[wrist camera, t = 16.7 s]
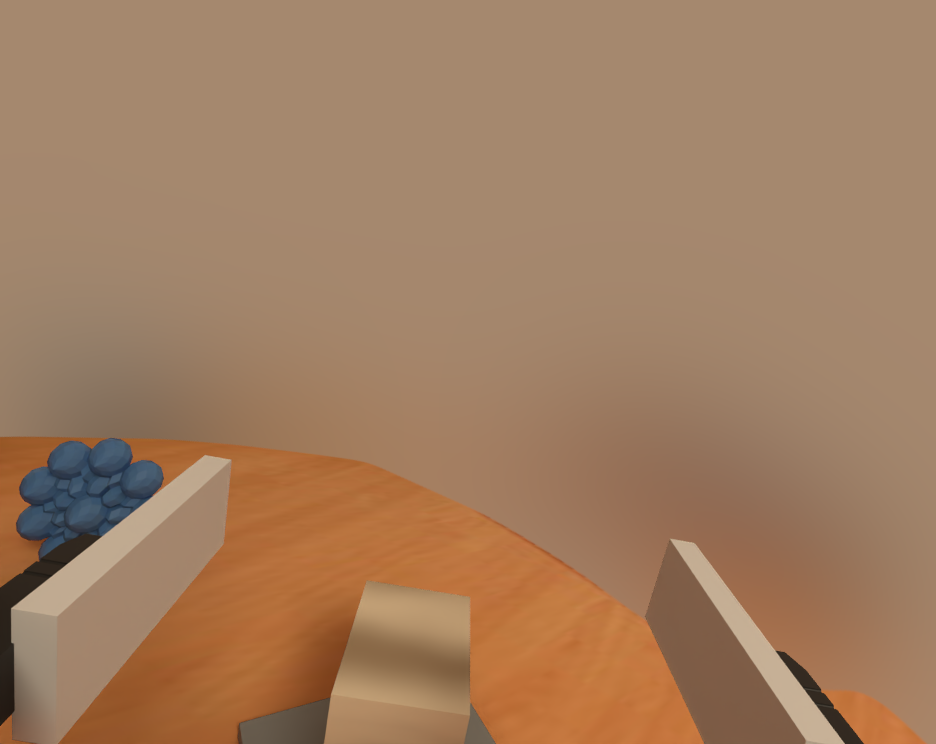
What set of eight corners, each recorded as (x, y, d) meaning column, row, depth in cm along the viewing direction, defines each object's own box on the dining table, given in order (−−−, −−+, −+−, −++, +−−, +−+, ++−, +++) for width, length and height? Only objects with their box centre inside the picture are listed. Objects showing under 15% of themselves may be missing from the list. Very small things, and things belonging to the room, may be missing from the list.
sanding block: (345, 722, 32) (366, 580, 30) (441, 737, 33) (469, 596, 31) (305, 871, 25) (331, 694, 22) (432, 889, 25) (470, 715, 23)
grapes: (194, 559, 46) (203, 431, 44) (146, 609, 40) (153, 462, 37) (62, 535, 46) (64, 405, 44) (-8, 582, 40) (-11, 432, 37)
